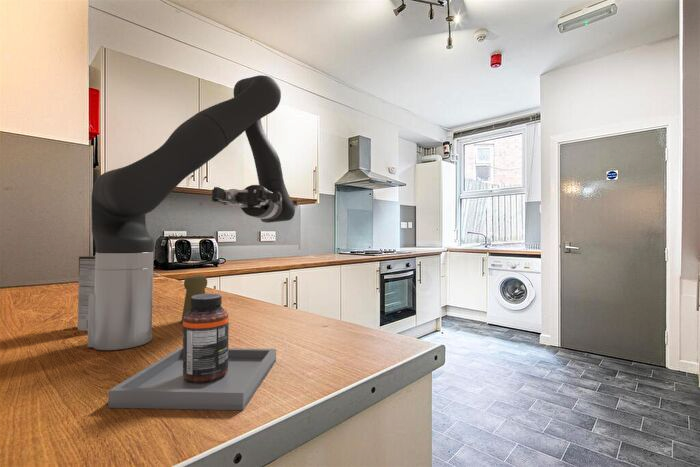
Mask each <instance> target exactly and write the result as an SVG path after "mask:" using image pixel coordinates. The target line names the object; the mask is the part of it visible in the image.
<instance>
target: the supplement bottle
mask: <svg viewBox="0 0 700 467" xmlns="http://www.w3.org/2000/svg"><path fill="white" fill-rule="evenodd" d="M222 303H223V300H222V295H221V294H219V293H205V294H199V295H194V296H192V297H191V304H190V305H191V309H190V311H189V312H187V313H186V314H185V315H184V318H183V323H182V329H183V330H182V334H183V335H182V347H183V377H184V379H185V380H187V381H189V382H193V383H204V382H211V381H214V380H216V379H219V378H221V377H222V376H224V375H225V374H226V373H227V371H228V348H229V322H230V320H229V319H230V318H229V312H228V311H227V309H225V308H223V307H222Z"/></svg>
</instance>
